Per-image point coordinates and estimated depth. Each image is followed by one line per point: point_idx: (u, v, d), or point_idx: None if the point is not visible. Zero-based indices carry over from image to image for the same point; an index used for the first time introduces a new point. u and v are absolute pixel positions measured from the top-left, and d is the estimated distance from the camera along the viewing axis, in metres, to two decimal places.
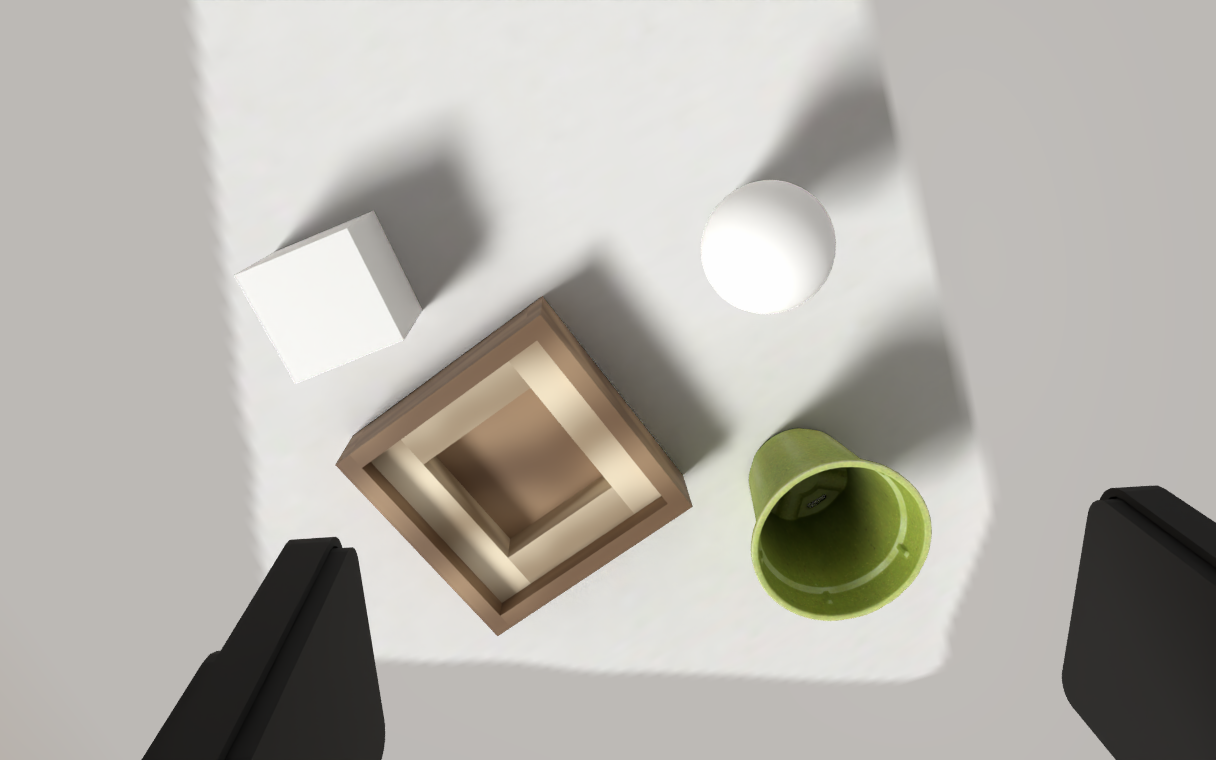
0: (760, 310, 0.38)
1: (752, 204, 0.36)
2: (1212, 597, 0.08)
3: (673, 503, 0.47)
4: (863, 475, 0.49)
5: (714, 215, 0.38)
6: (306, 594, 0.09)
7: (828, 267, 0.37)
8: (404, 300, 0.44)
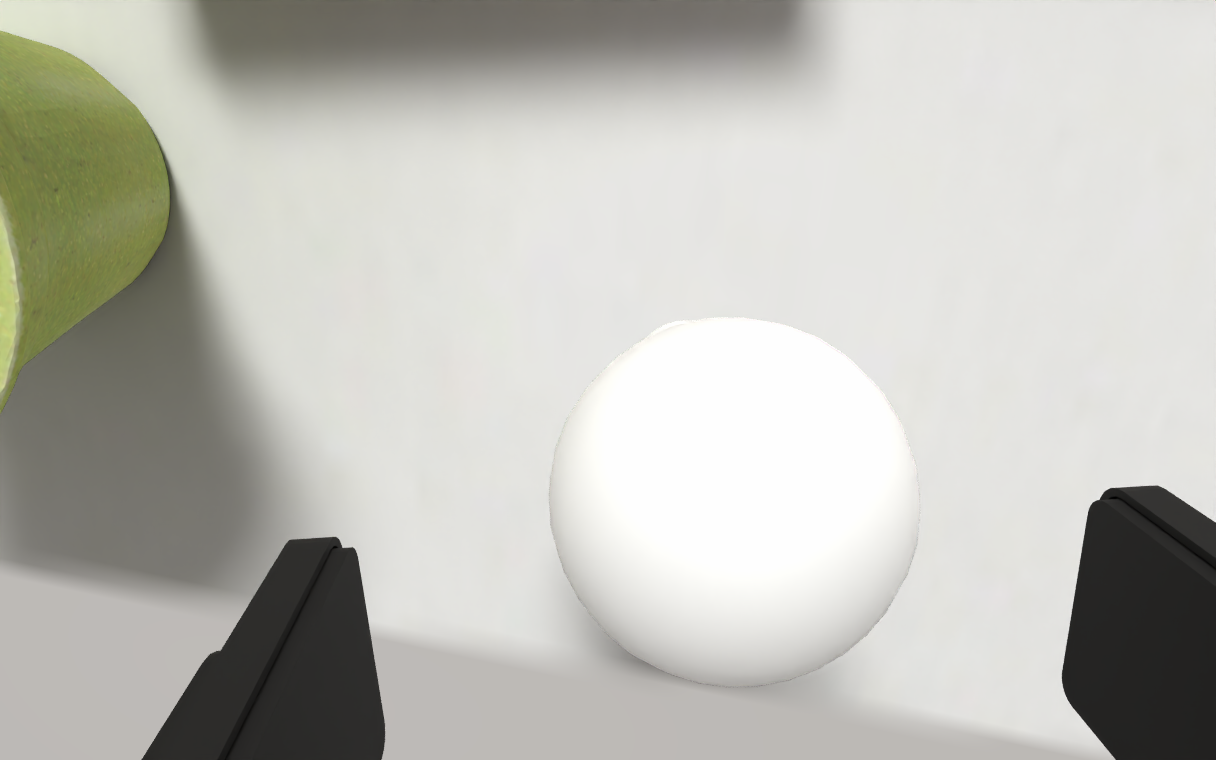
0: (623, 429, 0.12)
1: (909, 559, 0.13)
2: (1212, 597, 0.08)
3: None
4: None
5: None
6: (306, 594, 0.09)
7: (629, 647, 0.13)
8: None
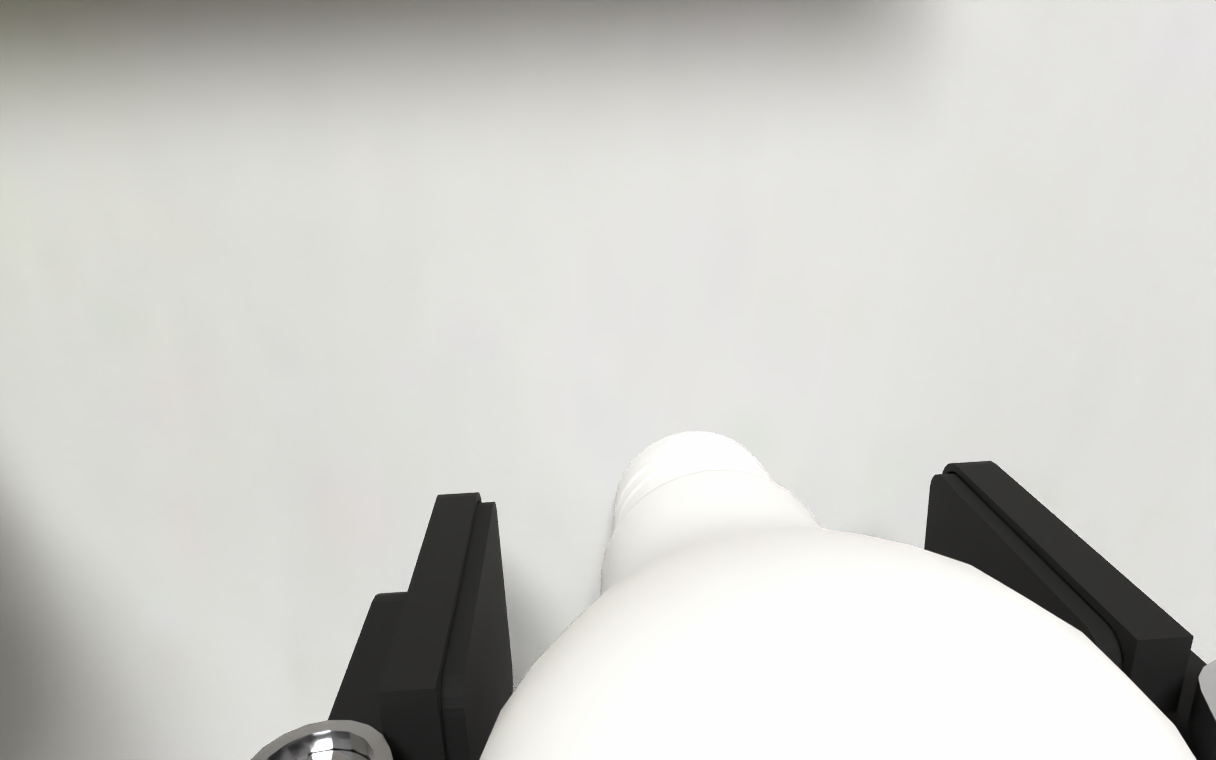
0: None
1: None
2: (1008, 557, 0.09)
3: None
4: None
5: None
6: (469, 539, 0.10)
7: None
8: None
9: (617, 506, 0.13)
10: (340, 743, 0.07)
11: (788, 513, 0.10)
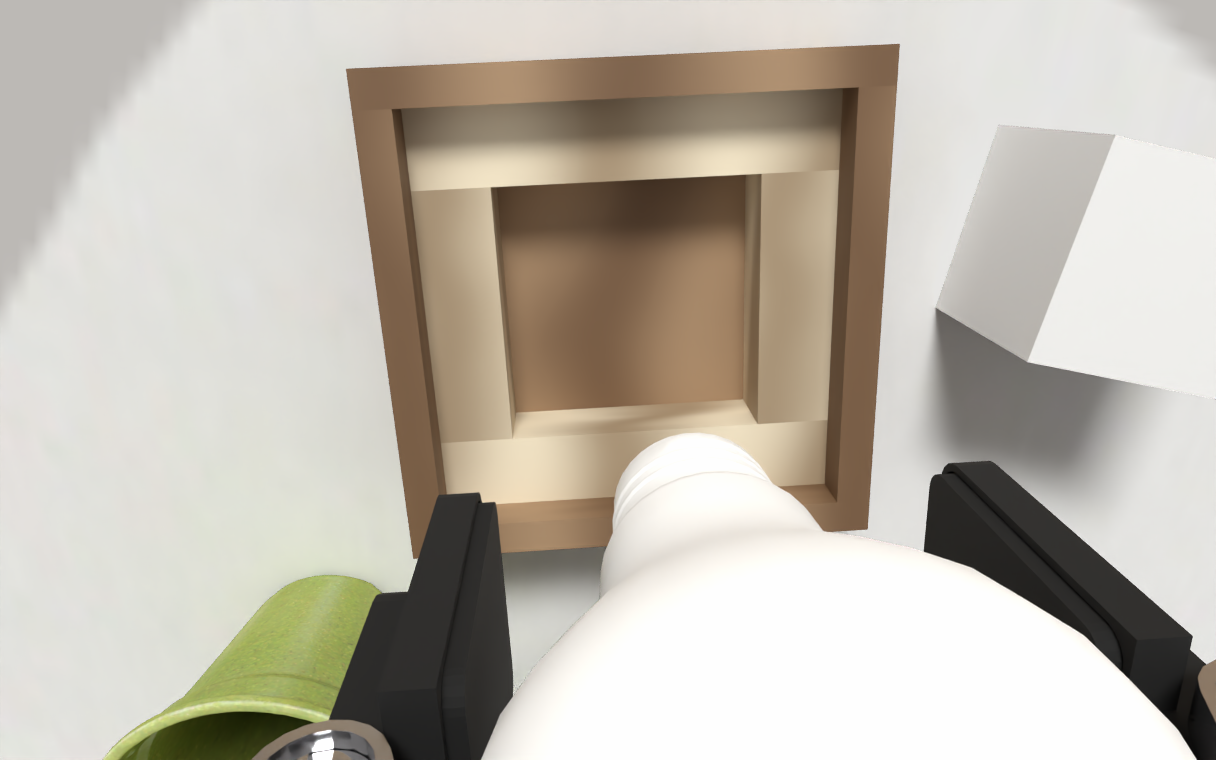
0: None
1: None
2: (1007, 557, 0.09)
3: None
4: None
5: None
6: (469, 539, 0.10)
7: None
8: None
9: (616, 508, 0.13)
10: (341, 743, 0.07)
11: (788, 515, 0.10)
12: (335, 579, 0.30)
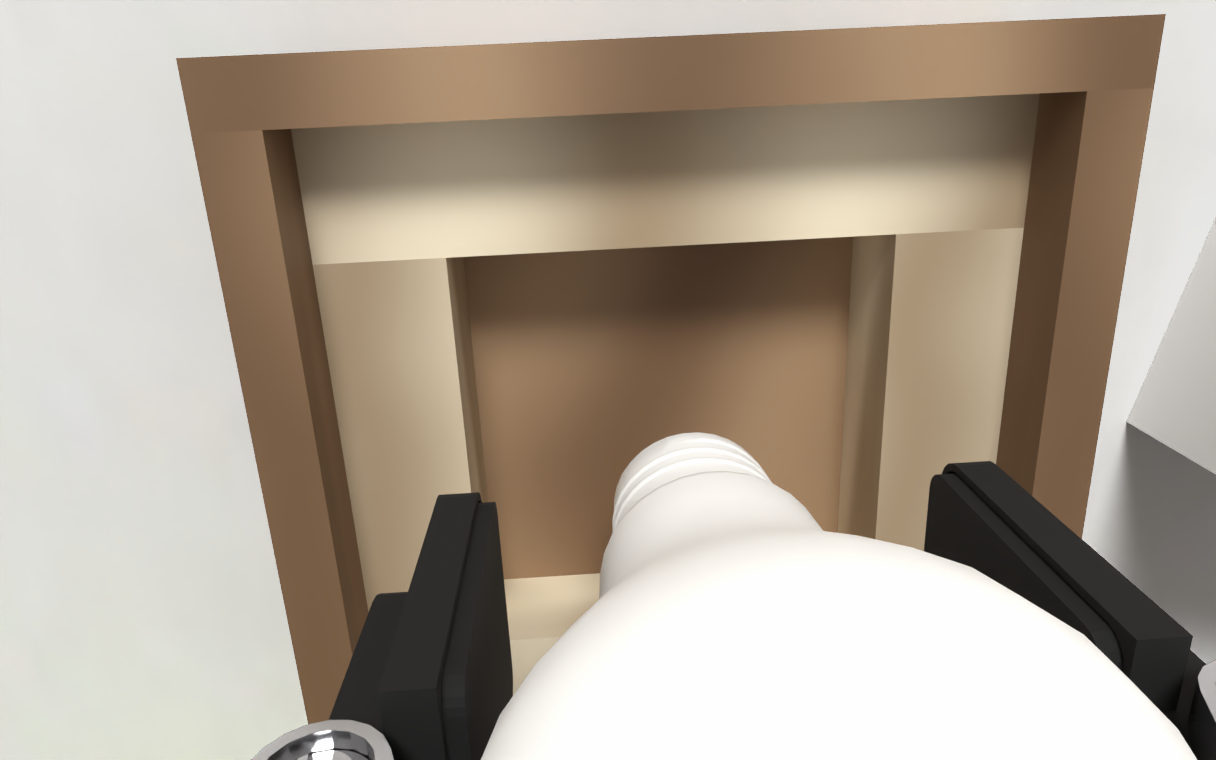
0: None
1: None
2: (1007, 557, 0.09)
3: None
4: None
5: None
6: (469, 539, 0.10)
7: None
8: None
9: (615, 508, 0.13)
10: (341, 743, 0.07)
11: (788, 515, 0.10)
12: None
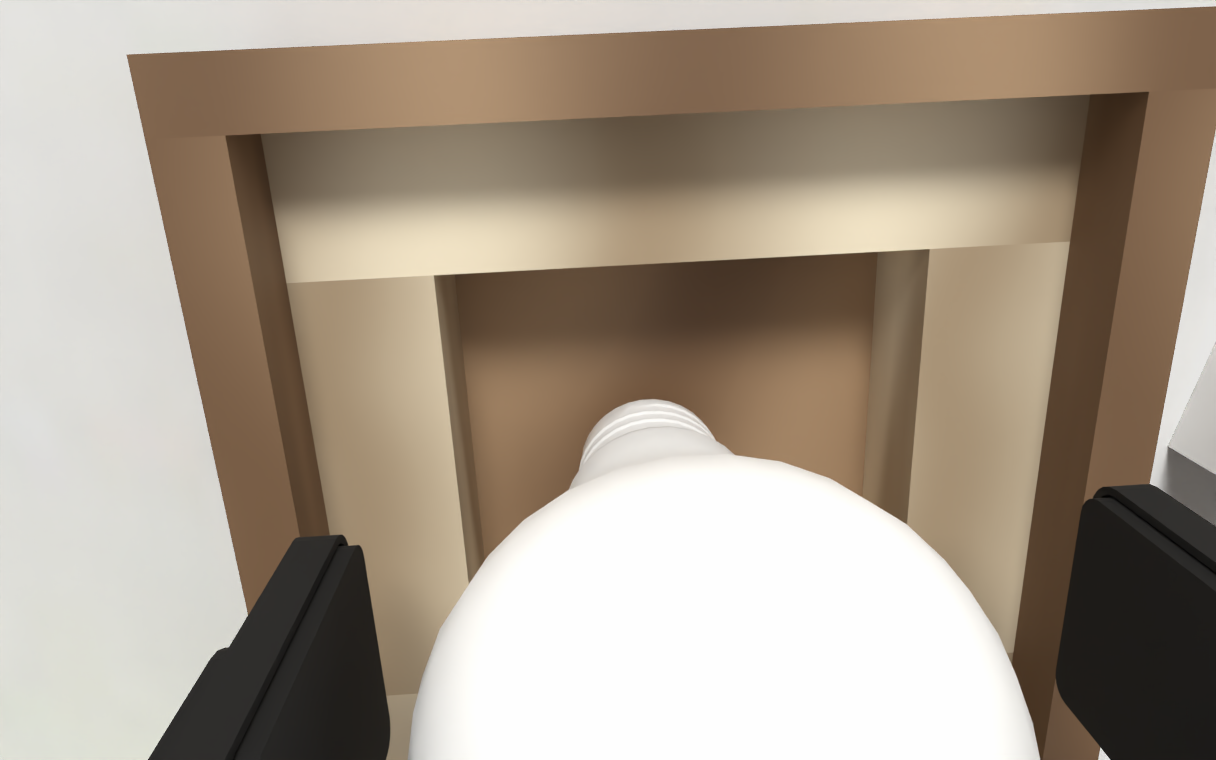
0: (514, 710, 0.07)
1: None
2: (1202, 595, 0.08)
3: None
4: None
5: (1009, 662, 0.08)
6: (313, 591, 0.09)
7: None
8: None
9: (580, 463, 0.15)
10: None
11: None
12: None
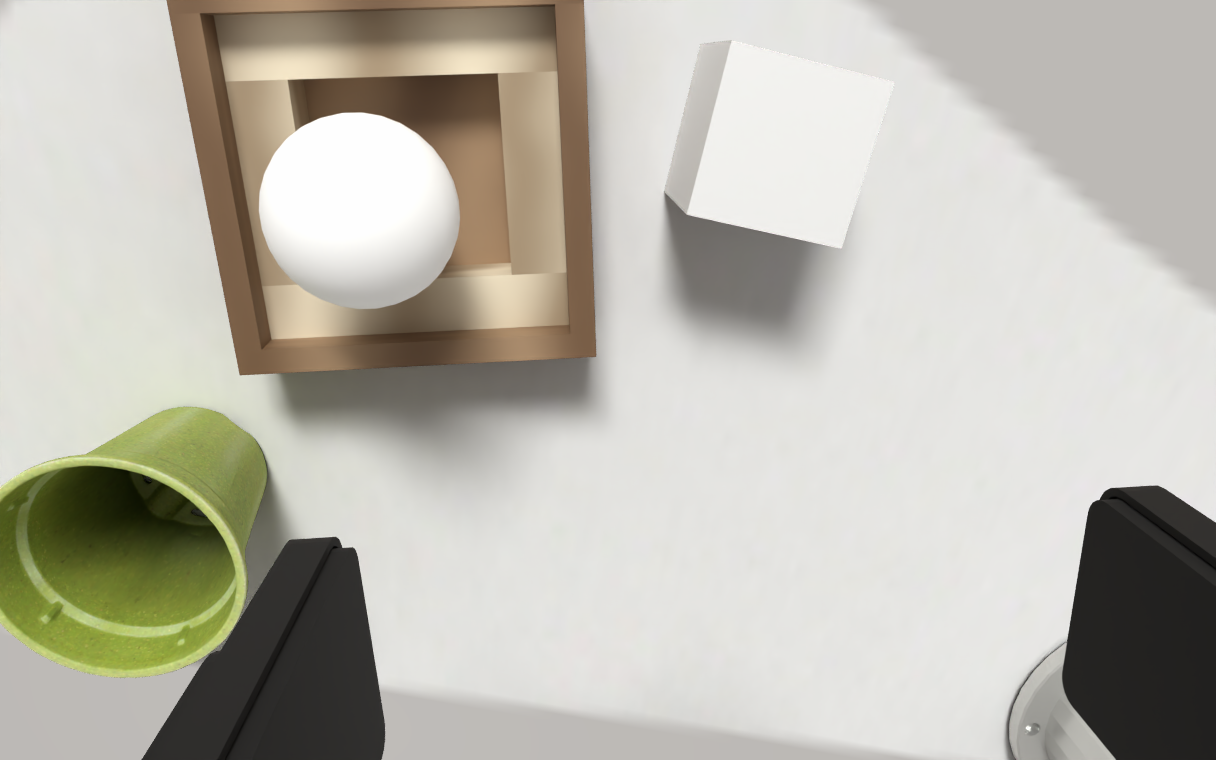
0: (281, 158, 0.25)
1: (436, 230, 0.25)
2: (1212, 597, 0.08)
3: (258, 356, 0.33)
4: (167, 558, 0.37)
5: (445, 174, 0.26)
6: (306, 594, 0.09)
7: (296, 278, 0.26)
8: None
9: None
10: None
11: None
12: (192, 409, 0.37)
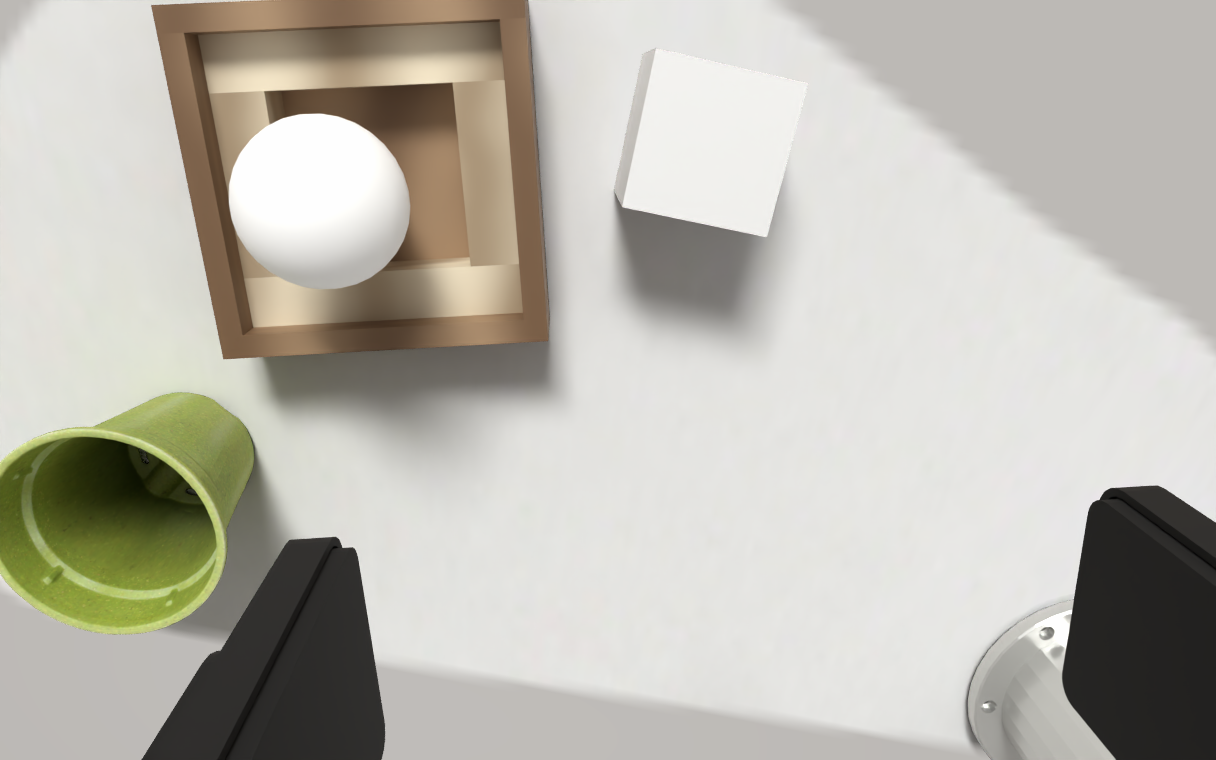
0: (246, 152, 0.28)
1: (383, 215, 0.29)
2: (1212, 597, 0.08)
3: (239, 341, 0.36)
4: (161, 531, 0.40)
5: (394, 166, 0.29)
6: (306, 594, 0.09)
7: (260, 259, 0.29)
8: None
9: None
10: None
11: None
12: (185, 394, 0.40)
